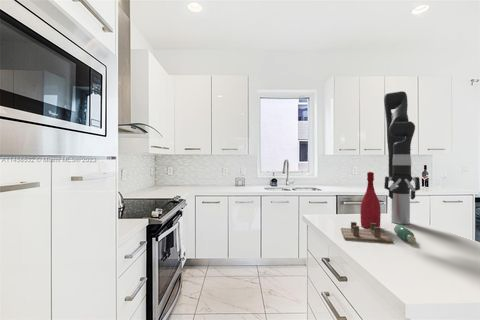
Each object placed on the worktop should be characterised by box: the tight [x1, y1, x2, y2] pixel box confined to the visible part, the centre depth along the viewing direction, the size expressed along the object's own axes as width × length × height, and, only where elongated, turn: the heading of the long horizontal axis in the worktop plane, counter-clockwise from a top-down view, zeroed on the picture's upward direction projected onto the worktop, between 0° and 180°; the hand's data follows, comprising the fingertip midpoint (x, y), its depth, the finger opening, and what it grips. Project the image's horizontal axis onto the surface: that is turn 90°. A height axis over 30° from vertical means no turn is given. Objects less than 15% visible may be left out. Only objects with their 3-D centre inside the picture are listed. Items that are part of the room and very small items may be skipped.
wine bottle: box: [360, 171, 382, 230], centre depth 149 cm, size 10×10×30 cm
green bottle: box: [393, 224, 417, 244], centre depth 126 cm, size 17×5×5 cm, turn 165°
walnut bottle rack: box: [340, 221, 394, 244], centre depth 131 cm, size 18×20×6 cm
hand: (401, 198), depth 128 cm, fingers open, 8 cm apart
